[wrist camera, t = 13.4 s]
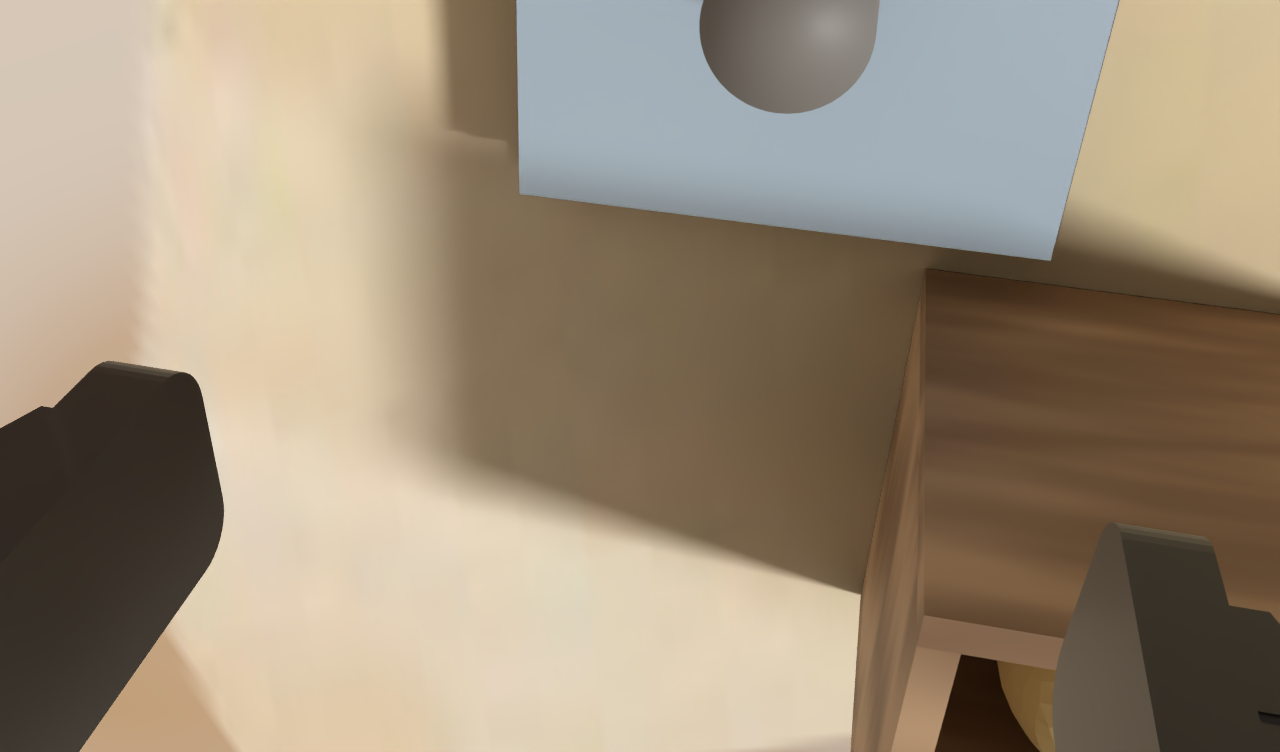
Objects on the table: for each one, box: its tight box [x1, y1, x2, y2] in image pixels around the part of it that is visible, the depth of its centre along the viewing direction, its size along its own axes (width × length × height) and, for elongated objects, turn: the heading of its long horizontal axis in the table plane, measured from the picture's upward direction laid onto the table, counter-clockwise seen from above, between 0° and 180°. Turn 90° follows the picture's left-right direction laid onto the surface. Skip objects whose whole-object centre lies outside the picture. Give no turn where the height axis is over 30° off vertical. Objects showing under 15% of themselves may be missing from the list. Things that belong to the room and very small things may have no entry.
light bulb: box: [997, 660, 1056, 752], centre depth 31 cm, size 6×6×10 cm
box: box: [851, 269, 1280, 752], centre depth 30 cm, size 12×12×13 cm
